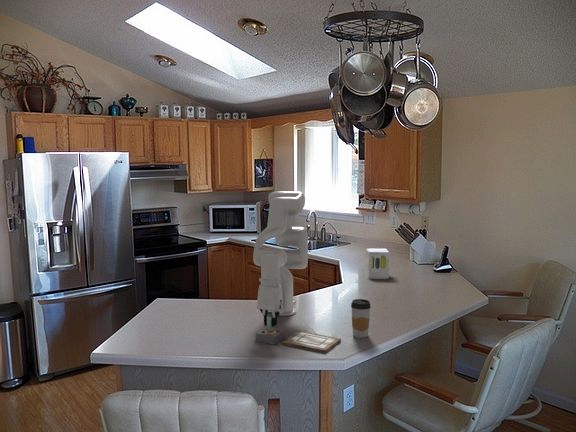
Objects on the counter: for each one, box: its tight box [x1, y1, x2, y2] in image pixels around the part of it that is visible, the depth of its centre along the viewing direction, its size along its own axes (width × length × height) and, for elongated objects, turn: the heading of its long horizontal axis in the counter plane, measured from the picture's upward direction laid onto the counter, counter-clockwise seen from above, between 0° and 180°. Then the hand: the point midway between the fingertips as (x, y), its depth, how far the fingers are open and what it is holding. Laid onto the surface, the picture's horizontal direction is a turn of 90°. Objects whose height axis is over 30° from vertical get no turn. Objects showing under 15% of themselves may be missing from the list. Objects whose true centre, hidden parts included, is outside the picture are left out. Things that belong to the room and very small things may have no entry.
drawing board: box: [282, 330, 342, 354], centre depth 203 cm, size 15×19×1 cm
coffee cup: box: [350, 298, 371, 339], centre depth 210 cm, size 8×8×15 cm
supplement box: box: [365, 247, 390, 280], centre depth 320 cm, size 13×13×18 cm
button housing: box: [255, 326, 286, 345], centre depth 206 cm, size 9×9×3 cm
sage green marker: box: [266, 311, 275, 333], centre depth 206 cm, size 3×3×8 cm
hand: (270, 325), depth 206 cm, fingers closed on sage green marker, 3 cm apart
